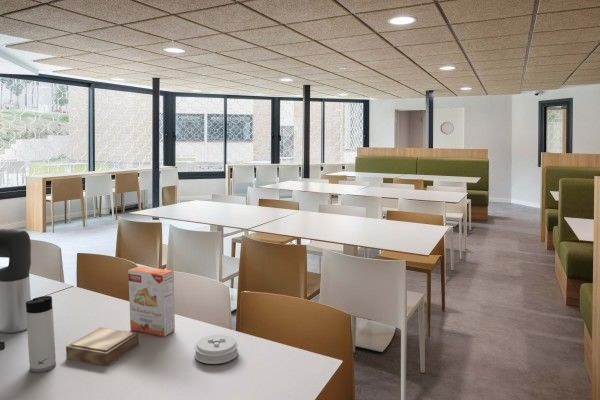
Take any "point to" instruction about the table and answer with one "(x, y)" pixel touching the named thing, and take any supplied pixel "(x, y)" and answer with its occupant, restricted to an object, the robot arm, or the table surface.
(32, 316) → the travel mug
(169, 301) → the cracker box
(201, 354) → the lid
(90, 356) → the walnut riser
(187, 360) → the table surface
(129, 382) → the table surface
